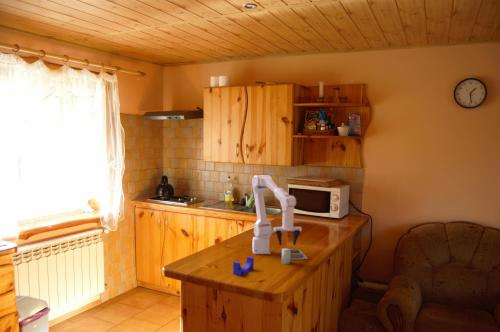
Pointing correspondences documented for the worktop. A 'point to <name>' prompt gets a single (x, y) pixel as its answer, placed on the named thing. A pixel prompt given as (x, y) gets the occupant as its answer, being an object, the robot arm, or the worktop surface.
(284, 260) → the cylinder
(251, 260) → the cable clip
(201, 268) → the worktop surface
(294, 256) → the grey square tray
